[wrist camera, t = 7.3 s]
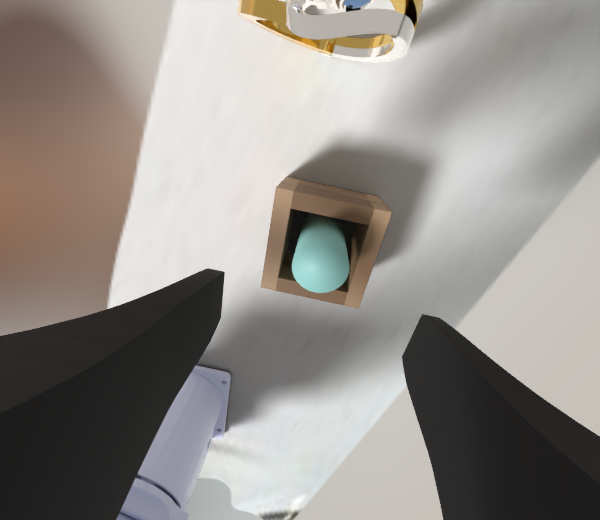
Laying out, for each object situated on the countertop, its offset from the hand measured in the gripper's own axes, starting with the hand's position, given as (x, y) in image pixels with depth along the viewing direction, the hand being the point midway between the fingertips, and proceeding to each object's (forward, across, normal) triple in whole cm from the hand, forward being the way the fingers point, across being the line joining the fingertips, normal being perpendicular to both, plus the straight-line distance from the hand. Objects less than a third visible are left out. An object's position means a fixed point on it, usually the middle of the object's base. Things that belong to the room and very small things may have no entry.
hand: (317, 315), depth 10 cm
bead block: (+10, 0, 0) cm, 10 cm away
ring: (+10, +2, -10) cm, 14 cm away
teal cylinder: (+10, 0, 0) cm, 10 cm away
